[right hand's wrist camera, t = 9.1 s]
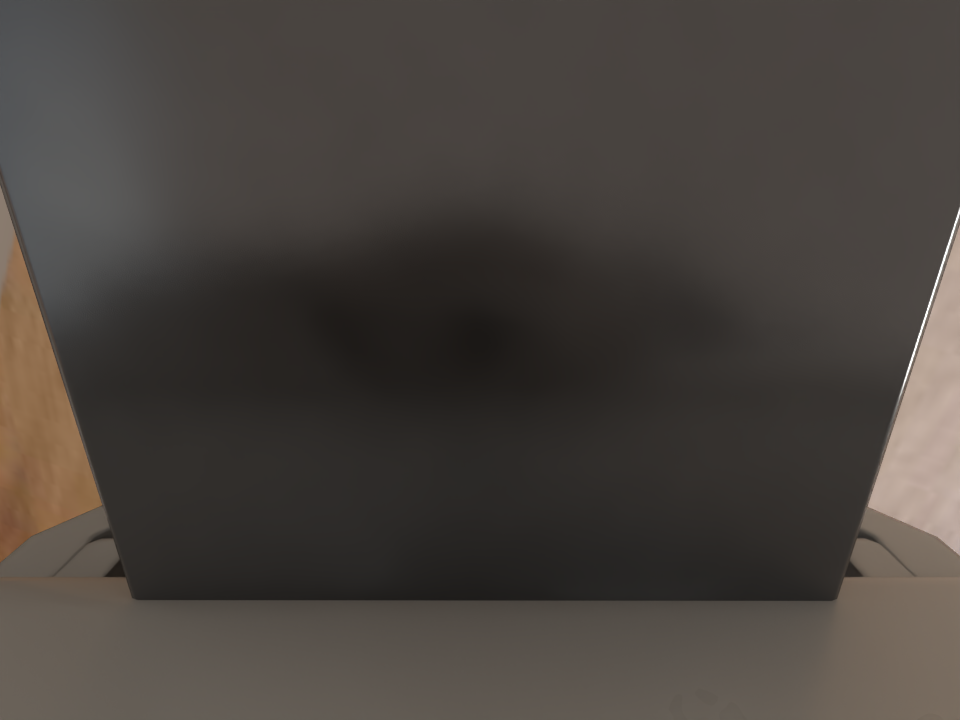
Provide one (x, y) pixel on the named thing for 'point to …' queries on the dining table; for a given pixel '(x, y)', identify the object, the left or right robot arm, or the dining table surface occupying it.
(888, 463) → the dining table surface
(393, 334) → the box
